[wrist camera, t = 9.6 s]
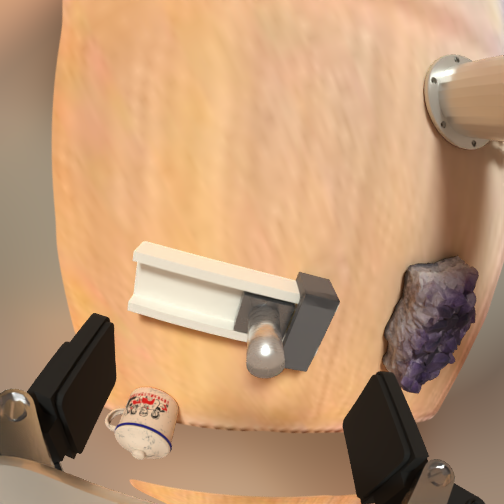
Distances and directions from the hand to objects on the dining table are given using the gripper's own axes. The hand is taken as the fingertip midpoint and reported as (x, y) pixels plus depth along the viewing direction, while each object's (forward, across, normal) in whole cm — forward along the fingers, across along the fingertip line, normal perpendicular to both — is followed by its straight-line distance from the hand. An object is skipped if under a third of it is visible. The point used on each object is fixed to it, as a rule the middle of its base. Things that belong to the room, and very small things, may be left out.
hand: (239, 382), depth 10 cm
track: (+26, 0, +12) cm, 29 cm away
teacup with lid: (+26, +10, +36) cm, 45 cm away
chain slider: (+24, -6, +12) cm, 28 cm away
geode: (+27, -27, +9) cm, 39 cm away
